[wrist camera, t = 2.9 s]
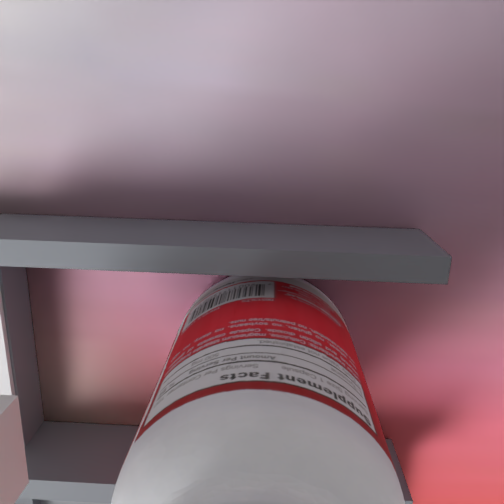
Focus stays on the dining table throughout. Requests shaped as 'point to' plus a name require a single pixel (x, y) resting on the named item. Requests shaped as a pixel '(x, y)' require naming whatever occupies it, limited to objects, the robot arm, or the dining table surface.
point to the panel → (165, 261)
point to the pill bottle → (260, 407)
